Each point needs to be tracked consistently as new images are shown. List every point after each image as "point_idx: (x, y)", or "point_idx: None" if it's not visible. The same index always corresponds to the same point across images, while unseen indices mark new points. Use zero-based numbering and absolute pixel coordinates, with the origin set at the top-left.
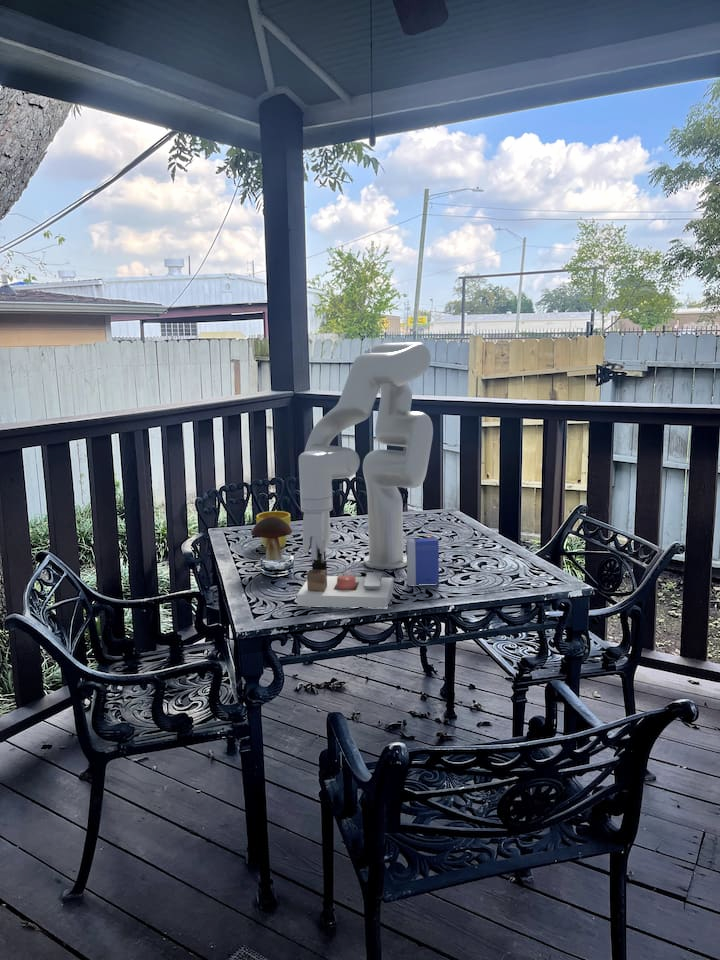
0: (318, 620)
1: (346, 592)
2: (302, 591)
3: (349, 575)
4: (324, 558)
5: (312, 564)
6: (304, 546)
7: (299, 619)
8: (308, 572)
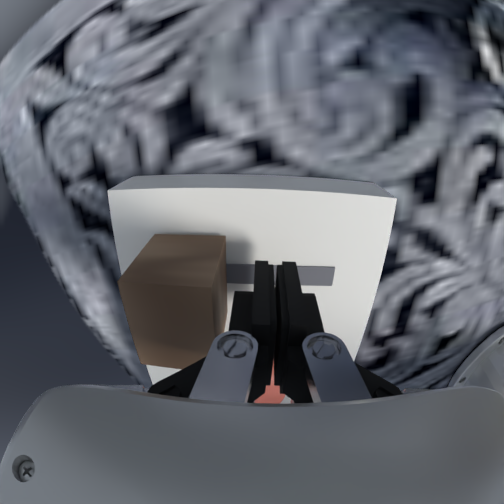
0: (62, 272)
1: (180, 369)
2: (152, 205)
3: (279, 398)
4: (290, 401)
5: (253, 314)
6: (10, 449)
7: (50, 214)
8: (147, 286)
